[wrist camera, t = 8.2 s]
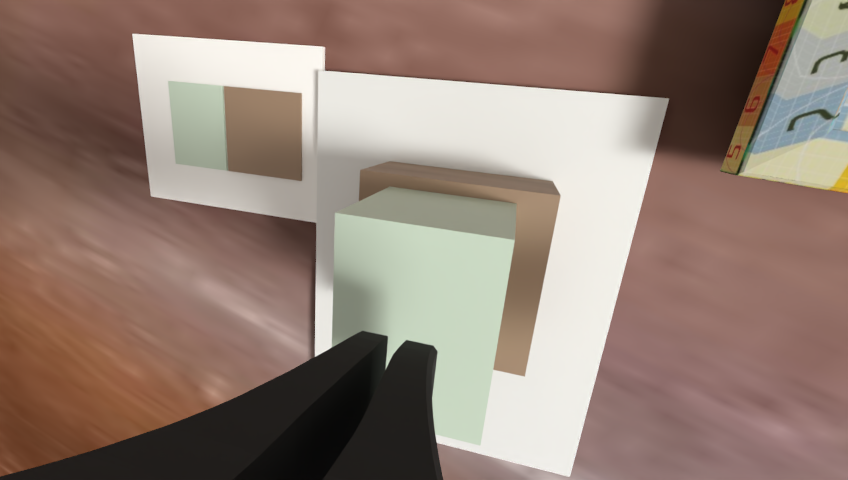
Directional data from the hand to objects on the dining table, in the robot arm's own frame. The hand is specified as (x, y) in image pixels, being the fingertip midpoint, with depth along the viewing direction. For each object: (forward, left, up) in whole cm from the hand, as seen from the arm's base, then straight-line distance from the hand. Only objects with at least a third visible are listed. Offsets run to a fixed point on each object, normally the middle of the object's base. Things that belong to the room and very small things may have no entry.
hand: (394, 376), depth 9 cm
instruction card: (+4, +12, -10) cm, 16 cm away
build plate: (-2, 0, -10) cm, 11 cm away
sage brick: (0, 0, -6) cm, 6 cm away
